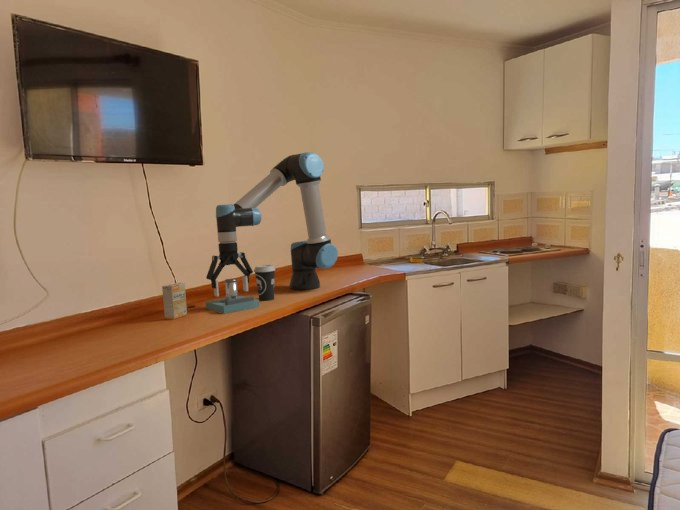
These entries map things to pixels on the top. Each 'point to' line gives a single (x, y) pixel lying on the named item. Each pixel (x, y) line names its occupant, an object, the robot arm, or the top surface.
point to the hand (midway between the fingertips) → (231, 293)
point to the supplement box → (174, 300)
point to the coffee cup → (265, 281)
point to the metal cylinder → (231, 289)
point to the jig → (232, 304)
